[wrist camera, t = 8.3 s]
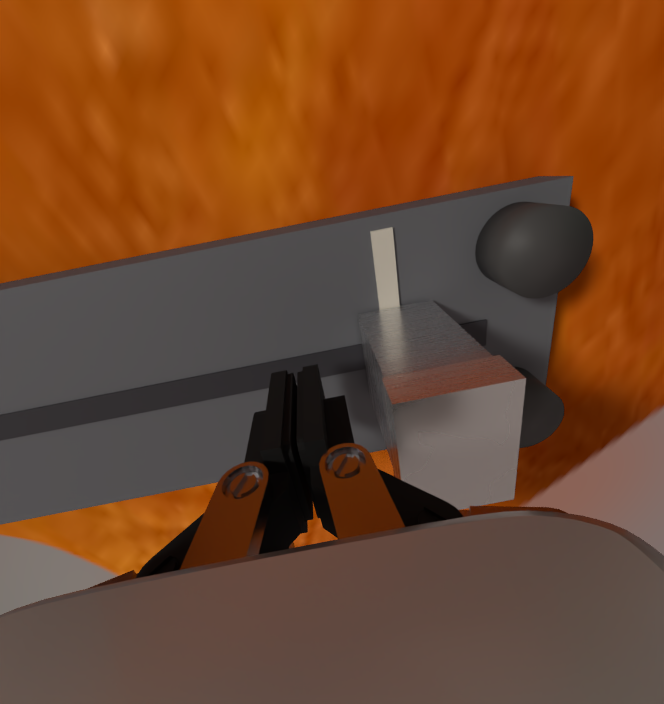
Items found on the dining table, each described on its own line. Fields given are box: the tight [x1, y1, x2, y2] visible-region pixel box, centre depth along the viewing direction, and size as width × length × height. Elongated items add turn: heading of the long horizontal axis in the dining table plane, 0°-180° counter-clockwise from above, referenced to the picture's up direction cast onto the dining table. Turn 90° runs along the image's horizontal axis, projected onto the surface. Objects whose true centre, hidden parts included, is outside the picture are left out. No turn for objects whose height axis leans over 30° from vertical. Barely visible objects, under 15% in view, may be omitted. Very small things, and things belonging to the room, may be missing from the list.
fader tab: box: [358, 300, 526, 510], centre depth 12 cm, size 4×3×6 cm
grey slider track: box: [0, 176, 593, 524], centre depth 15 cm, size 11×36×4 cm, turn 100°
